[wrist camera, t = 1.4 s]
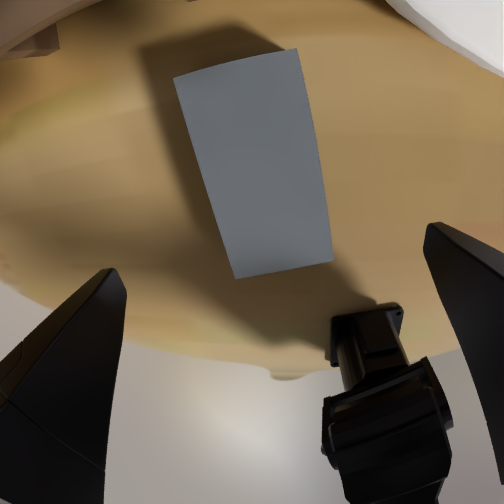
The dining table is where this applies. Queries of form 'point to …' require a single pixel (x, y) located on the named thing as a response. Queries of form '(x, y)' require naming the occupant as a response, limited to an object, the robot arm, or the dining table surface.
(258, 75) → the slate slab
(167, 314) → the dining table surface
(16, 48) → the walnut shelf
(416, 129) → the dining table surface
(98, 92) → the dining table surface
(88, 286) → the robot arm
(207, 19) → the dining table surface
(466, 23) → the plate
